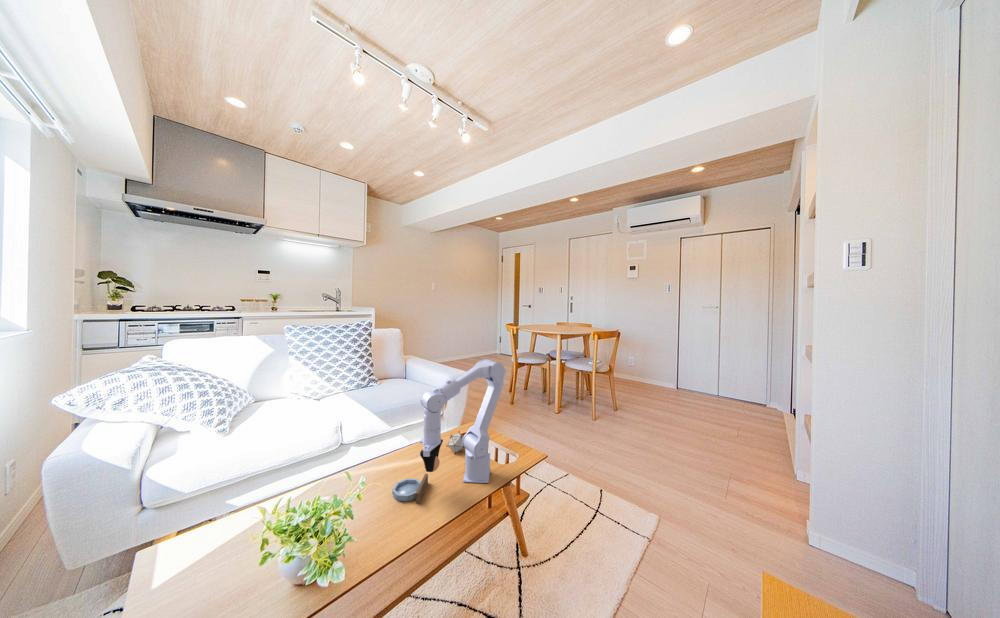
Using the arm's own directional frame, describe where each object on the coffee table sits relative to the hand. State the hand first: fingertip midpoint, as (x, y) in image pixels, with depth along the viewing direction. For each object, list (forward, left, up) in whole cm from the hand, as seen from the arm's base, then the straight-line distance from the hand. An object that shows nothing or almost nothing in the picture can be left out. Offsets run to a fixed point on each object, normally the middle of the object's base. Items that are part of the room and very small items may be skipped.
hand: (431, 466), depth 104 cm
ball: (0, 0, -1) cm, 2 cm away
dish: (+8, 0, -10) cm, 13 cm away
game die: (-4, -29, -10) cm, 30 cm away
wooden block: (+3, 0, -10) cm, 10 cm away
